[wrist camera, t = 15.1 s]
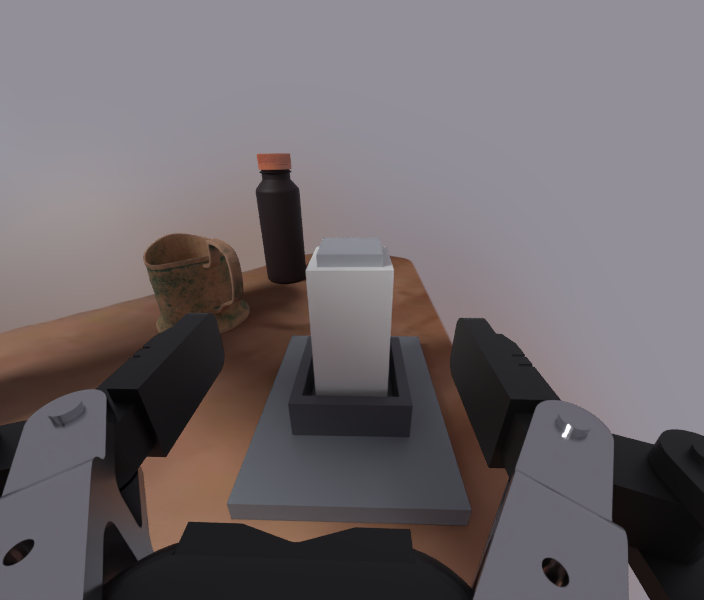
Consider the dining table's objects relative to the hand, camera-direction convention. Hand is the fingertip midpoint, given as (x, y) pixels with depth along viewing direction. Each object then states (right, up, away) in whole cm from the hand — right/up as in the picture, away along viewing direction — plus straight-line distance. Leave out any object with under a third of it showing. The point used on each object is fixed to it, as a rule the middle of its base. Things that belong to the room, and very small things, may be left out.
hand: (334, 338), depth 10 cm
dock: (+1, -8, +16) cm, 18 cm away
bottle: (-11, +5, +44) cm, 46 cm away
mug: (-17, -2, +29) cm, 34 cm away
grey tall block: (+1, -7, +15) cm, 16 cm away
